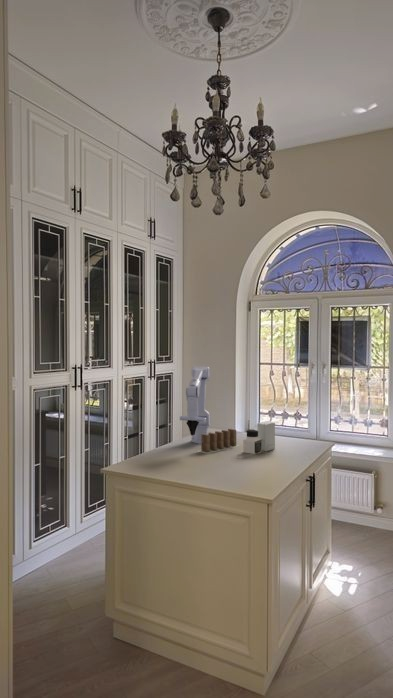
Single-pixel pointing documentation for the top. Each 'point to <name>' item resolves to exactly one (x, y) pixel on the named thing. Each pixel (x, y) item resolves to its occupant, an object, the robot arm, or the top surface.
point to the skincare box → (267, 435)
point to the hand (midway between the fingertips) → (192, 434)
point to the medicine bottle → (252, 442)
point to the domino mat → (218, 449)
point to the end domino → (205, 443)
